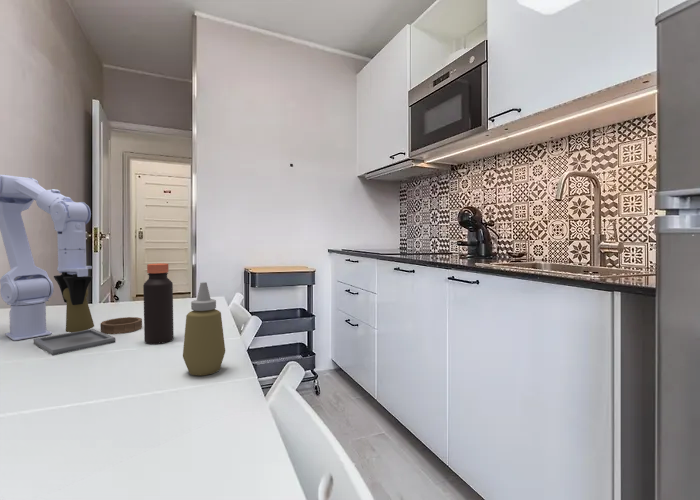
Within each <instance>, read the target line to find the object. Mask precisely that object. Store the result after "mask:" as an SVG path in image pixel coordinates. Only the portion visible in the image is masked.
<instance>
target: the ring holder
mask: <svg viewBox="0 0 700 500" xmlns="http://www.w3.org/2000/svg"><path fill="white" fill-rule="evenodd" d="M99 325H100V332H102V333H105V334H107V335H121V334H127V333H133V332H134V333H135V332H138V331H139V330H141V329H142V328H143V318H142V317H135V316H134V317H133V316H128V317H127V316H126V317H118V318H110V319H107V320H103V321H102V322H100V323H99Z"/></svg>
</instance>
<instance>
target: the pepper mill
mask: <svg viewBox="0 0 700 500" xmlns="http://www.w3.org/2000/svg"><path fill="white" fill-rule="evenodd" d="M88 296H89V289H88V288H87V290H86V294H85V298H84V302H83V304H79V305H72V303H71V299H70V293H69V289H68V288H66V289H64V291H63V296H62V298H63V297H64V299H65V300H66V301H67V303H66V313H65V314H66V315H65V333H71V332H79V331H84V330H88V329H94V327H95V322H94V320H93V316H92V313H91V309H90V307H89V302H88V299H87V297H88Z"/></svg>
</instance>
